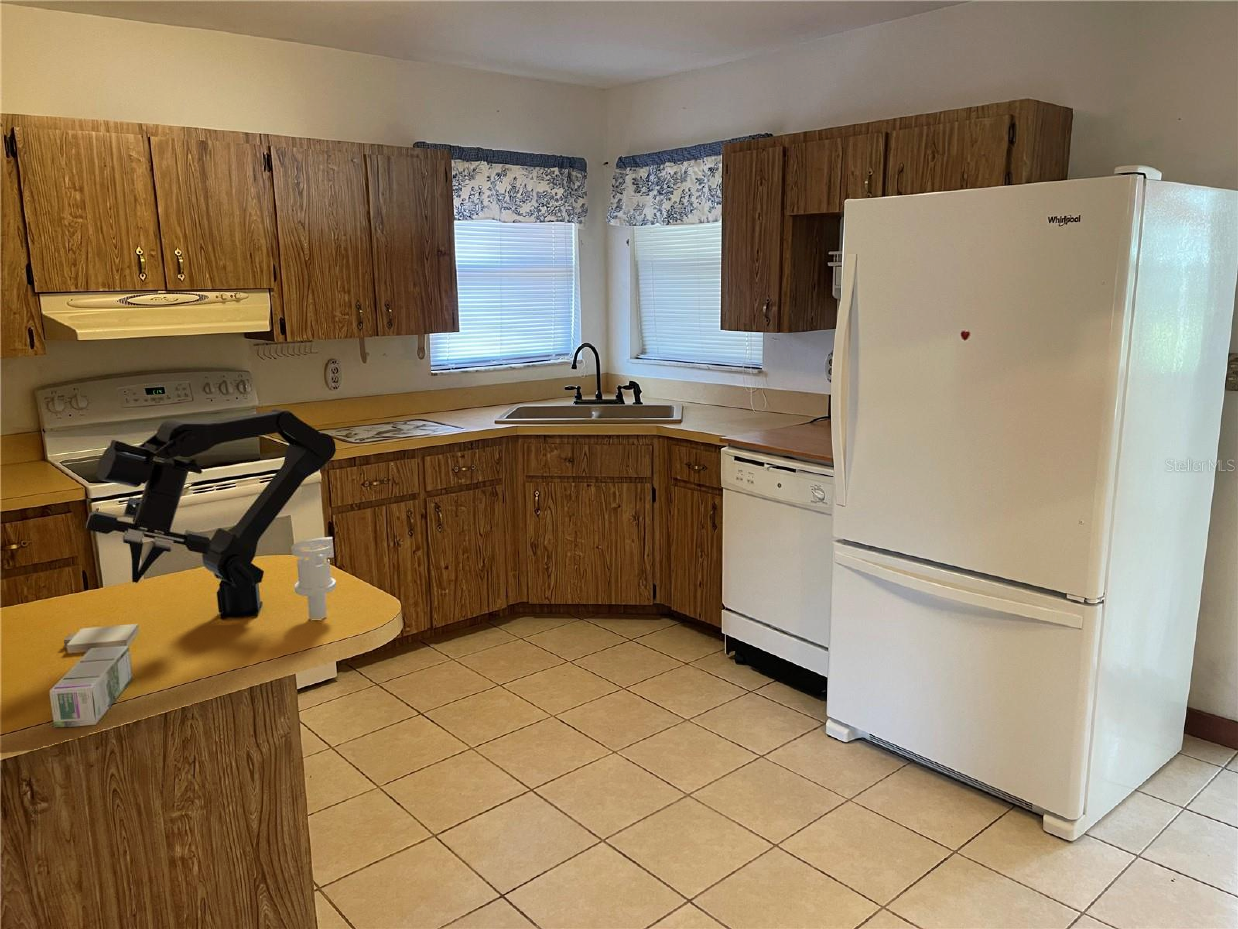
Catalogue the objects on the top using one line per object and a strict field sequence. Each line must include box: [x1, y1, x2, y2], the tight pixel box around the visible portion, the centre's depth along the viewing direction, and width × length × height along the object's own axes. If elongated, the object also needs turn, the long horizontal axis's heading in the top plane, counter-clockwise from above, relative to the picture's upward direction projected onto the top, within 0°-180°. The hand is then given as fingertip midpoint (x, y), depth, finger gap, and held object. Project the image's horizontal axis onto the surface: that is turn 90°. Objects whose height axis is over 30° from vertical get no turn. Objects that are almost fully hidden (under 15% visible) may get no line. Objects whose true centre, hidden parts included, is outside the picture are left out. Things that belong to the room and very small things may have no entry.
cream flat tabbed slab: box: [63, 623, 140, 654], centre depth 152 cm, size 10×7×2 cm
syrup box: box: [49, 646, 134, 728], centre depth 131 cm, size 6×6×14 cm
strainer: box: [290, 536, 337, 620], centre depth 161 cm, size 7×7×15 cm
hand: (134, 582), depth 150 cm, fingers closed
